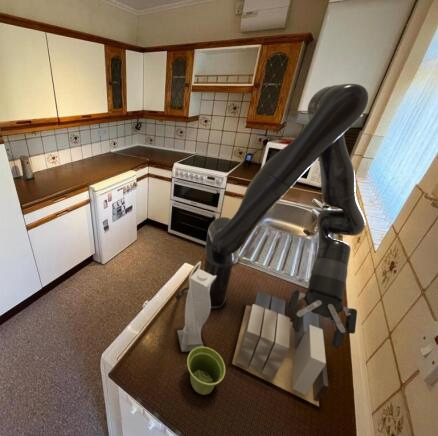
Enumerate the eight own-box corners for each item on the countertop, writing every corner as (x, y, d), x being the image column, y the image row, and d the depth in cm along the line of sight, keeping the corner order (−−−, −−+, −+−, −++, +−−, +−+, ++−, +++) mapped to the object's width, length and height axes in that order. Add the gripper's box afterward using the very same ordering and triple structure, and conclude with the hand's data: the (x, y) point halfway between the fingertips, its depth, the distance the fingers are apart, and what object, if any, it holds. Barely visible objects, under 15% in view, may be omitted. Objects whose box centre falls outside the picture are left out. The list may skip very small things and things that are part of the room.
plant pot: (213, 411, 58) (218, 393, 54) (178, 388, 63) (181, 370, 59) (224, 377, 65) (229, 358, 61) (192, 358, 70) (195, 340, 66)
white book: (292, 388, 62) (310, 357, 55) (293, 355, 70) (309, 324, 63) (305, 395, 61) (326, 363, 54) (304, 360, 68) (322, 329, 62)
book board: (231, 365, 68) (242, 331, 61) (245, 307, 86) (255, 275, 79) (317, 408, 59) (342, 375, 52) (313, 333, 78) (331, 300, 70)
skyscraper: (176, 327, 79) (183, 260, 65) (200, 325, 79) (212, 259, 66) (181, 351, 71) (191, 282, 58) (207, 349, 72) (223, 281, 59)
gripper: (301, 267, 64) (286, 328, 61) (367, 286, 58) (356, 355, 55) (294, 270, 70) (281, 325, 67) (354, 288, 64) (343, 349, 61)
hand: (315, 339), depth 61 cm, fingers open, 8 cm apart
